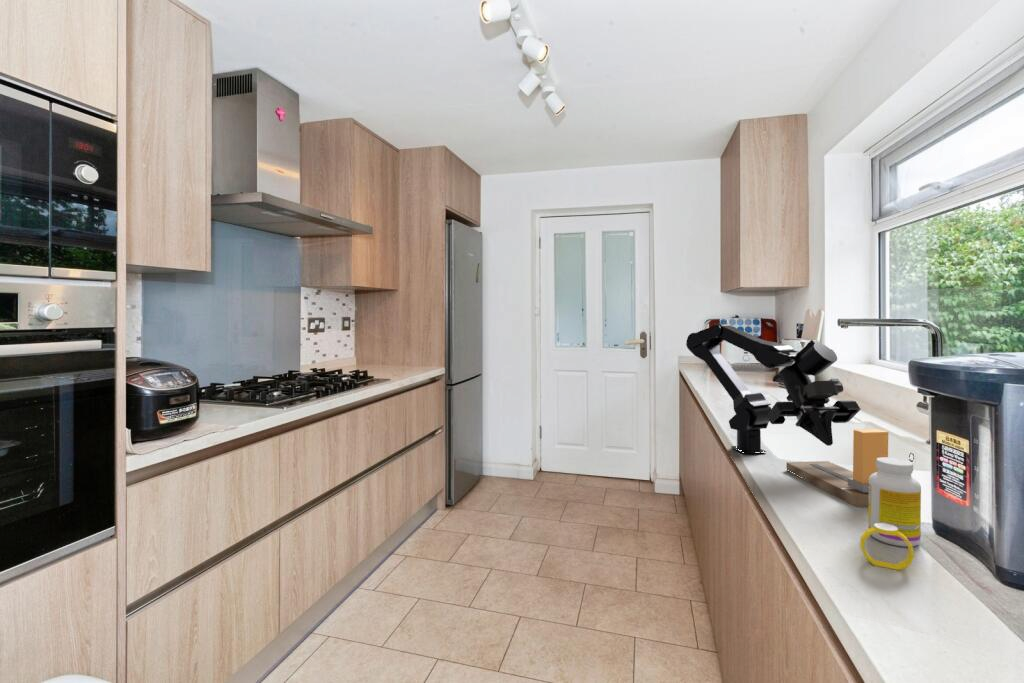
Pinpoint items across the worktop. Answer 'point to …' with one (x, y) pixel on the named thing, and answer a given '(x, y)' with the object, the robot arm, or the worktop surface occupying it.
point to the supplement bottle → (895, 501)
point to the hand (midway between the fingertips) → (830, 444)
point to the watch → (887, 530)
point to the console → (830, 480)
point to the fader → (867, 456)
